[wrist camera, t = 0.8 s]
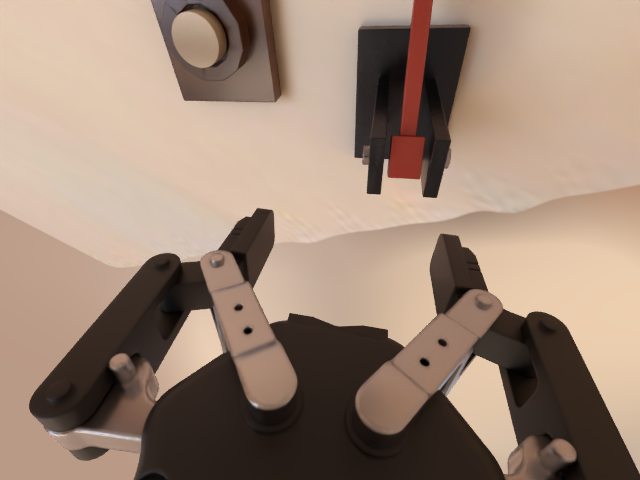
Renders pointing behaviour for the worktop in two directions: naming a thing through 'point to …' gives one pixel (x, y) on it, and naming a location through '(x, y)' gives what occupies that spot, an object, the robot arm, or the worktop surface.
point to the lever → (412, 99)
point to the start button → (199, 37)
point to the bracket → (387, 97)
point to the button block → (227, 52)
